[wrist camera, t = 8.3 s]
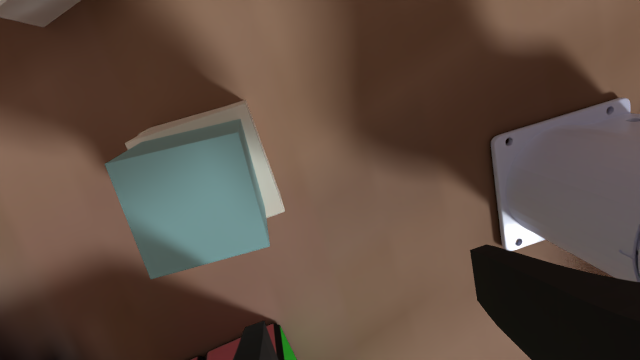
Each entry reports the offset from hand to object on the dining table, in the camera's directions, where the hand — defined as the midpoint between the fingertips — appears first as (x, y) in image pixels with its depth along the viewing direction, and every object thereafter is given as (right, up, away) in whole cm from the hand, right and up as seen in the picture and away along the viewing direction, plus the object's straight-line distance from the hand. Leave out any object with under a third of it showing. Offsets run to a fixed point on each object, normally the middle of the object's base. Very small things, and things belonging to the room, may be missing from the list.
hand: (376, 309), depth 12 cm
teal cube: (-7, +4, +3) cm, 9 cm away
